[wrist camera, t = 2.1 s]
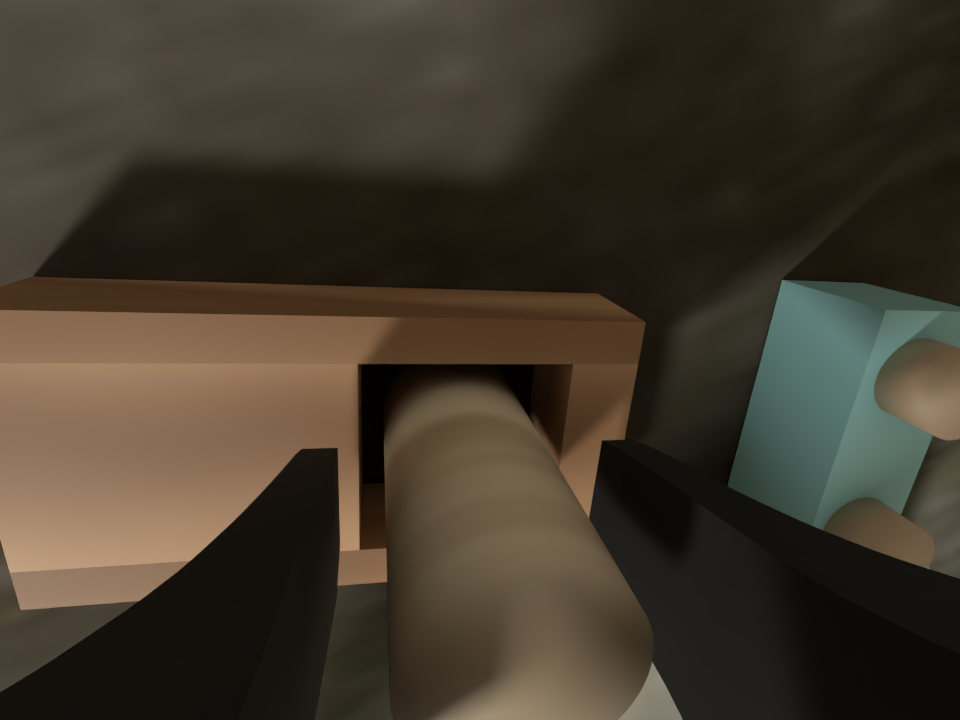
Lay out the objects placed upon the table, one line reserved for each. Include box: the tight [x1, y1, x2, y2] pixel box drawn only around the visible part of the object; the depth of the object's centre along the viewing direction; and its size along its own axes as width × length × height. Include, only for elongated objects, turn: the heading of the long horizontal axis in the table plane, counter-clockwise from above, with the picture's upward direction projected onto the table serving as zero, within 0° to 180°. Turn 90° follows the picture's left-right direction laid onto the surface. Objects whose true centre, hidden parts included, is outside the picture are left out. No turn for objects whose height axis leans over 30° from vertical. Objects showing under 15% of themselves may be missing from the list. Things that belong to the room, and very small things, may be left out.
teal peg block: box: [727, 280, 960, 568], centre depth 13 cm, size 7×2×4 cm, turn 176°
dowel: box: [383, 364, 654, 720], centre depth 10 cm, size 3×3×8 cm
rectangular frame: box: [0, 277, 646, 610], centre depth 11 cm, size 6×12×2 cm, turn 86°
